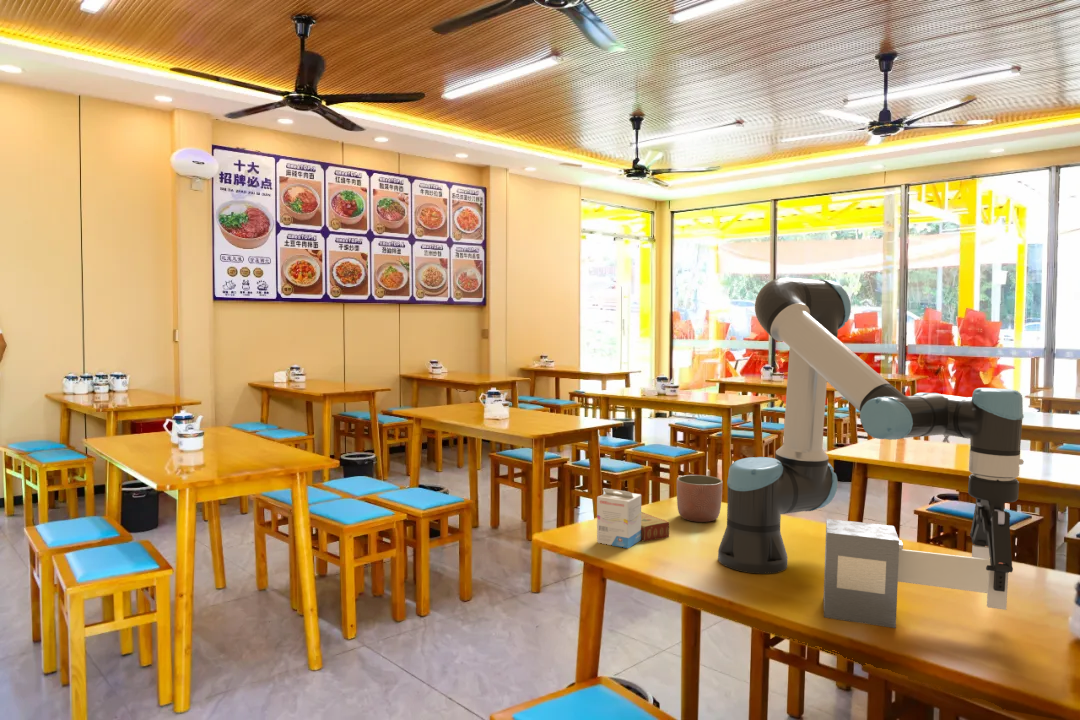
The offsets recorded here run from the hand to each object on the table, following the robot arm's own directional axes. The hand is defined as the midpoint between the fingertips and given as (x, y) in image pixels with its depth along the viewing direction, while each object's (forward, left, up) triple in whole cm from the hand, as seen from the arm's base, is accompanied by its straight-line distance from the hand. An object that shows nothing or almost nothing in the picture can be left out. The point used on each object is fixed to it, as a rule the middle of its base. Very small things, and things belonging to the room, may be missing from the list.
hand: (987, 593), depth 127 cm
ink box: (-74, +24, -7) cm, 78 cm away
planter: (-59, +53, -7) cm, 80 cm away
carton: (-72, +35, -7) cm, 80 cm away
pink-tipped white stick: (-6, 0, 0) cm, 7 cm away
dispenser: (-21, 0, -7) cm, 22 cm away
